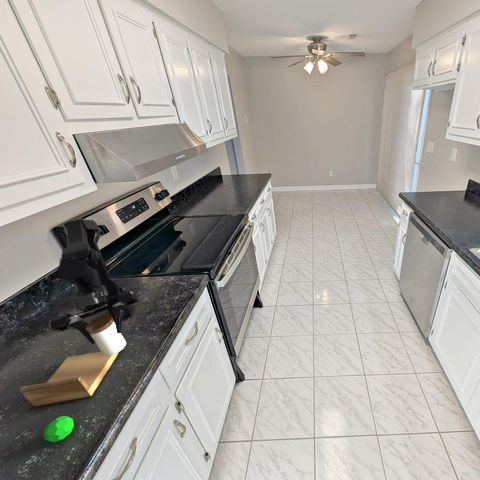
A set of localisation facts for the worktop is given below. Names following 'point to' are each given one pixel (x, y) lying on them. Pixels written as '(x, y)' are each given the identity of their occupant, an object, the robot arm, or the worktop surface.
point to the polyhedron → (58, 429)
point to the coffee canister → (106, 335)
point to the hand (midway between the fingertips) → (106, 338)
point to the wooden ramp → (71, 379)
